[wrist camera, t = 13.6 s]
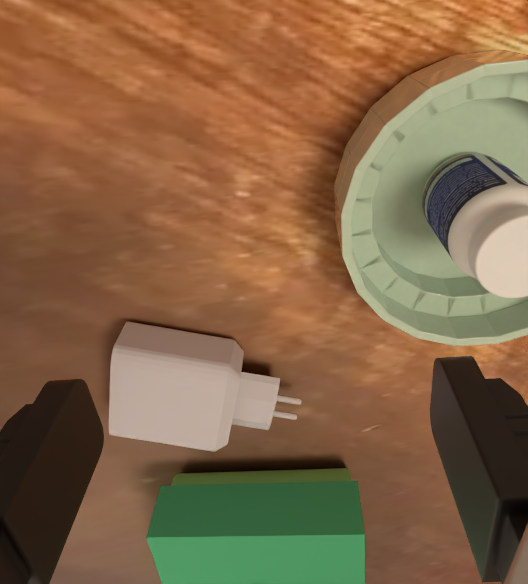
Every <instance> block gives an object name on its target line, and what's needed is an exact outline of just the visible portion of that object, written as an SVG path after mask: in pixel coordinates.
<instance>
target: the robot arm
mask: <svg viewBox="0 0 528 584" xmlns="http://www.w3.org/2000/svg"><path fill="white" fill-rule="evenodd" d="M430 420H431V427H432V432H433V436H434V440H435V443H436V446H437V449H438V451H439V454H440V457H441V460H442V463H443V466H444V469H445V472H446V475H447V478H448V481H449V484H450V487H451V490H452V493H453V496H454V499H455V502H456V505H457V508H458V511H459V514H460V517H461V520H462V523H463V525H464V528H465V531H466V534H467V537H468V540H469V543H470V546H471V549H472V552H473V555H474V558H475V561H476V564H477V567H478V570H479V573H480V576H481V579H482V582H502V584H528V406H527V405H526V403H525V401H524V400H523V398H522V396H521V395H520V394H519V393H518V392H517V391H515V390H514V389H513V388H512V387H511V386H509V385H508V384H507V383H506V382H504V381H503V380H502V379H501V378H496V379H485V378H484V376H483V374H482V372H481V370H480V369H479V367H478V365H477V363H476V361H475V359H474V358H473V357H472V356H463V357H447V358H436V359H435V362H434V369H433V381H432V393H431V404H430ZM103 442H104V433H103V427H102V424H101V421H100V418H99V416H98V413H97V410H96V408H95V405H94V402H93V400H92V397H91V394H90V392H89V389H88V386H87V384H86V383H85V381H84V380H82V379H72V380H56V381H49V382H47V383H46V384H45V385H44V387H43V388H42V390H41V391H40V393H39V395H38V396H37V398H36V400H35V401H34V403H33V404H26V405H25V406H24V407H23V408H22V409H20V410H19V411H18V412H17V413H16V414H15V415H14V416H12V417H11V418H10V419H9V420H8V421H7V422H6V424H5V425H4V427H3V428H2V430H1V431H0V584H49V583H50V580H51V578H52V575H53V573H54V570H55V568H56V565H57V563H58V560H59V558H60V555H61V553H62V550H63V548H64V545H65V543H66V540H67V537H68V535H69V532H70V530H71V527H72V525H73V522H74V520H75V517H76V515H77V512H78V510H79V507H80V505H81V502H82V500H83V497H84V495H85V492H86V490H87V487H88V485H89V482H90V480H91V477H92V475H93V472H94V470H95V467H96V465H97V462H98V460H99V457H100V455H101V452H102V448H103Z"/></svg>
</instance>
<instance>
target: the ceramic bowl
mask: <svg viewBox="0 0 528 584" xmlns="http://www.w3.org/2000/svg"><path fill="white" fill-rule="evenodd" d="M465 153H481V154H485V155H488V156H491V157H493V158H495V159H496V160H498V161H499V162H501V163H502V164H503V165H505V166H506V167H508V168H509V169H510V170H511V171H513V172H514V173H515V174H517V175H518V176H519V177H521V178H522V179H523V180H525V181H526V182H528V55H525V54H520V53H515V52H510V51H505V50H494V51H485V52H476V53H467V54H458V55H454V56H450V57H448V58H446V59H444V60H441V61H439V62H437V63H435V64H432V65H430V66H428V67H426V68H423V69H421V70H419V71H417V72H414V73H412V74H410V75H409V76H406V77H405V78H404V79H403V80H402V81H401V82H399V83H398V84H397V85H396V86H395V87H394V88H392V89H391V90H390V91H389V92H388V93H387V94H385V95H384V96H383V97H382V98H381V99H380V100H378V101H377V102H376V103H375V104H374V105H373V106H371V108H370V109H369V111H368V112H367V114H366V115H365V117H364V118H363V120H362V122H361V123H360V125H359V126H358V128H357V129H356V131H355V132H354V134H353V135H352V137H351V138H350V140H349V141H348V143H347V145H346V147H345V150H344V153H343V157H342V160H341V164H340V167H339V171H338V174H337V177H336V181H335V184H334V185H335V186H334V196H335V222H336V227H337V232H338V237H339V242H340V247H341V252H342V256H343V259H344V262H345V264H346V266H347V269H348V271H349V274H350V276H351V279H352V281H353V284H354V286H355V288H356V291H357V292H358V294H359V295H360V296H361V297H362V298H363V299H364V300H365V301H366V302H367V304H368V305H369V306H370V307H371V308H372V309H373V310H374V311H375V312H376V313H377V314H378V316H379V317H380V318H381V319H382V320H384V321H386V322H387V323H389V324H391V325H393V326H395V327H397V328H399V329H400V330H402V331H404V332H406V333H408V334H410V335H412V336H413V337H415V338H418V339H423V340H428V341H433V342H438V343H443V344H448V345H453V346H467V345H484V344H498V343H502V342H505V341H509V340H512V339H515V338H519V337H522V336H525V335H528V296H525V297H519V298H505V297H500V296H497V295H495V294H492V293H491V292H489V291H487V290H486V289H485V288H484V287H483V286H482V285H481V284H480V283H479V281H478V280H477V279H476V278H473V277H471V276H469V275H467V274H466V273H464V272H463V271H462V270H461V269H460V268H459V267H458V266H457V265H456V264H455V263H454V261H453V260H452V259H451V257H450V255H449V254H448V252H447V251H446V249H445V248H444V246H443V245H442V243H441V242H440V240H439V238H438V237H437V235H436V234H435V232H434V231H433V229H432V228H431V226H430V225H429V223H428V222H427V220H426V218H425V216H424V213H423V210H422V204H421V199H422V192H423V189H424V186H425V183H426V181H427V180H428V178H429V176H430V175H431V174H432V172H433V171H434V170H435V169H436V168H437V167H438V166H439V165H441V164H442V163H443V162H445V161H446V160H448V159H450V158H452V157H454V156H457V155H461V154H465Z"/></svg>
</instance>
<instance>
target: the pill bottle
mask: <svg viewBox="0 0 528 584" xmlns="http://www.w3.org/2000/svg"><path fill="white" fill-rule="evenodd" d="M421 204H422V210H423V213H424V216H425V218H426V220H427V222H428V223H429V225H430V226H431V228H432V229H433V231H434V232H435V234H436V235H437V237H438V238H439V240H440V242H441V243H442V245H443V246H444V248H445V249H446V251H447V252H448V254H449V255H450V257H451V259H452V260H453V261H454V263H455V264H456V265H457V266H458V267H459V268H460V269H461V270H462V271H463V272H464V273H466V274H467V275H469V276H471V277H473V278H476V279H477V280H478V281H479V283H480V284H481V285H482V286H483V287H484V288H485V289H486V290H487V291H489V292H491V293H492V294H495V295H497V296H500V297H505V298H519V297H525V296H528V182H526V181H525V180H523V179H522V178H521V177H519V176H518V175H517V174H515V173H514V172H513V171H511V170H510V169H509V168H508V167H506V166H505V165H503V164H502V163H501V162H499V161H498V160H496V159H495V158H493V157H491V156H488V155H485V154H481V153H465V154H461V155H457V156H454V157H452V158H450V159H448V160H446V161H445V162H443V163H442V164H441V165H439V166H438V167H437V168H436V169H435V170H434V171H433V172H432V174H431V175H430V176H429V178H428V180H427V181H426V183H425V186H424V189H423V192H422V199H421Z"/></svg>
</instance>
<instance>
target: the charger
mask: <svg viewBox="0 0 528 584" xmlns="http://www.w3.org/2000/svg"><path fill="white" fill-rule="evenodd" d="M243 356H244V351H243V350H242V349H241V347H240V346H239V345H238V344H237V342H236V341H235V340H233V339H227V338H221V337H215V336H210V335H204V334H198V333H192V332H186V331H180V330H174V329H169V328H163V327H157V326H151V325H145V324H139V323H134V322H128V321H127V322H126V323H125V325H124V327H123V329H122V331H121V333H120V335H119V337H118V339H117V341H116V343H115V345H114V347H113V351H112V357H111V367H110V401H109V434H110V435H114V436H120V437H126V438H133V439H139V440H145V441H151V442H158V443H164V444H170V445H176V446H183V447H189V448H195V449H201V450H208V451H214V452H215V451H217V450H218V449H220V448H222V447H224V446H225V445H227V444H228V440H229V435H230V430H231V425H232V424H233V425H240V426H246V427H252V428H258V429H264V430H268V429H269V427H270V425H271V421H272V417H273V416H275V417H281V418H287V419H293V420H296V419H297V415H296V414H293V413H286V412H280V411H274V409H275V405H276V401H280V402H286V403H292V404H298V405H300V404H301V399H298V398H292V397H286V396H280V395H278V390H279V384H280V378H275V377H269V376H263V375H257V374H251V373H245V372H241V371H242V364H243Z"/></svg>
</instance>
